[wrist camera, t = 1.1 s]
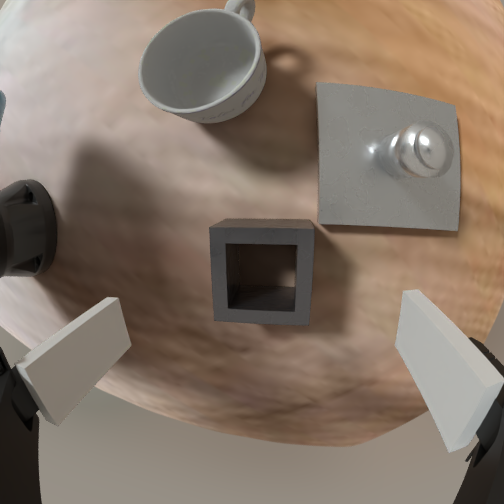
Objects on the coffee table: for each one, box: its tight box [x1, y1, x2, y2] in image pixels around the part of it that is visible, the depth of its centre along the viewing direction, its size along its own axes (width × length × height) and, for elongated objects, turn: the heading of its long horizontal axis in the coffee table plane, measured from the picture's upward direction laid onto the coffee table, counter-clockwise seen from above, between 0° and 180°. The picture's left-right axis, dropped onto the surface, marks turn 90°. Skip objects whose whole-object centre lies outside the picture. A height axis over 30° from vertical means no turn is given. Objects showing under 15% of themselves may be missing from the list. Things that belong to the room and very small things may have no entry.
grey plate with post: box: [315, 82, 460, 231], centre depth 19 cm, size 16×14×10 cm
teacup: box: [138, 0, 267, 123], centre depth 20 cm, size 14×11×8 cm
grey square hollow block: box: [209, 219, 315, 325], centre depth 25 cm, size 8×8×6 cm
